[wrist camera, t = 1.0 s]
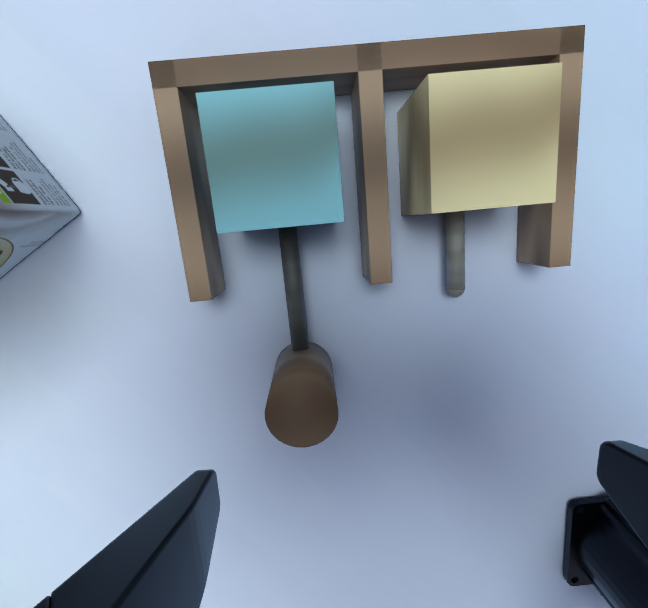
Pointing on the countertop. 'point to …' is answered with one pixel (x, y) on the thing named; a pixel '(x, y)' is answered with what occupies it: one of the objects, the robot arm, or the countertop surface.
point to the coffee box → (27, 201)
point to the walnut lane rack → (361, 132)
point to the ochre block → (478, 147)
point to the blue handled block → (280, 220)
